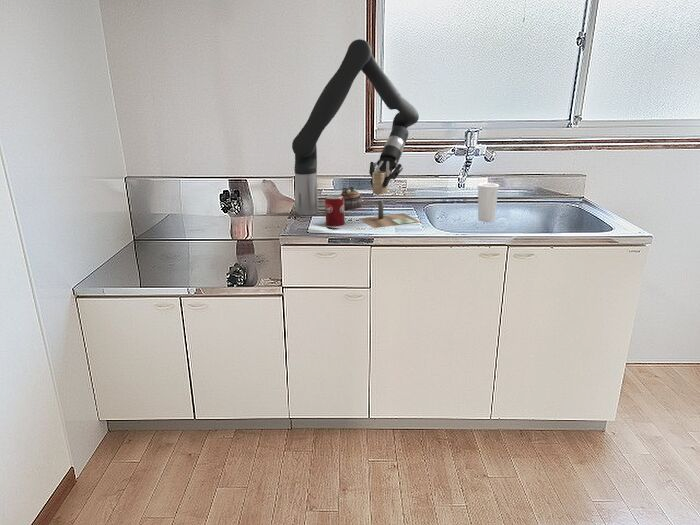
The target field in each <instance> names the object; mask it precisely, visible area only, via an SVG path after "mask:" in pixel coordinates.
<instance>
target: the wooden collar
mask: <svg viewBox="0 0 700 525" xmlns="http://www.w3.org/2000/svg"><path fill="white" fill-rule="evenodd" d="M386 174H387V172H383V171H380V170H379V171H377V172H373V186H372V194H376V195H384V194H387V193H389V185H388V186H387V187H386V188H384V187H383V186H382V183H383V181H384V179H385V177H386Z"/></svg>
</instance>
